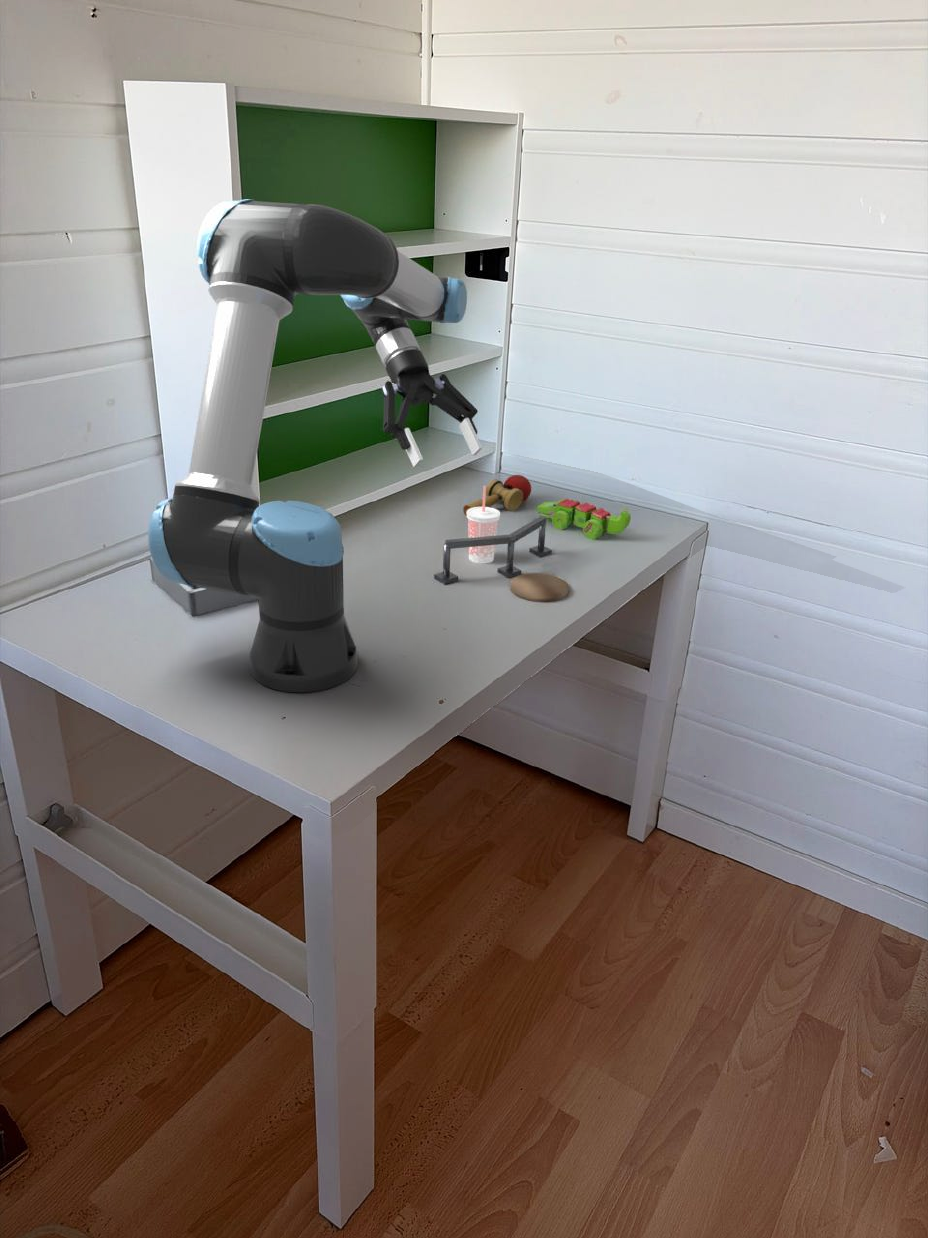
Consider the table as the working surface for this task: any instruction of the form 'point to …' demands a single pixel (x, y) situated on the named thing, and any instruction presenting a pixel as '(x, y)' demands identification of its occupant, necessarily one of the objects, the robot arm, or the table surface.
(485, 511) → the beverage cup
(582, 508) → the toy crocodile
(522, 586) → the walnut pad
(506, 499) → the kendama
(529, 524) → the bent rail
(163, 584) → the slate open-top tray
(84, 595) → the table surface
